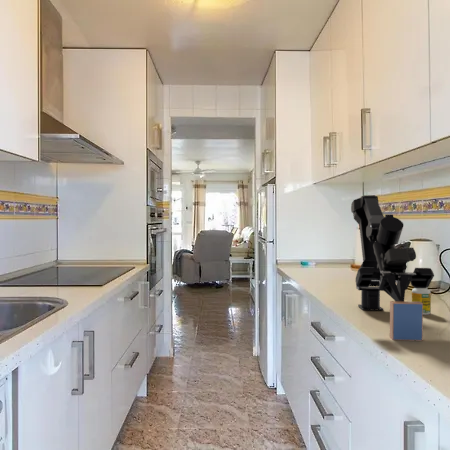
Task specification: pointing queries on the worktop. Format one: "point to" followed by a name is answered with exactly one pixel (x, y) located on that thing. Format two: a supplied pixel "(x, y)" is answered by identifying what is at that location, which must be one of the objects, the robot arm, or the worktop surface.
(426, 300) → the supplement bottle
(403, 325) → the block
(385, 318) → the worktop surface
